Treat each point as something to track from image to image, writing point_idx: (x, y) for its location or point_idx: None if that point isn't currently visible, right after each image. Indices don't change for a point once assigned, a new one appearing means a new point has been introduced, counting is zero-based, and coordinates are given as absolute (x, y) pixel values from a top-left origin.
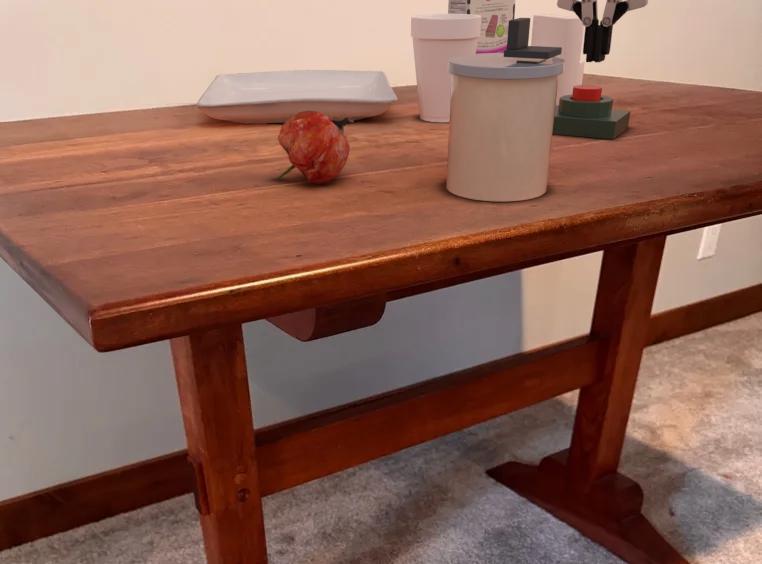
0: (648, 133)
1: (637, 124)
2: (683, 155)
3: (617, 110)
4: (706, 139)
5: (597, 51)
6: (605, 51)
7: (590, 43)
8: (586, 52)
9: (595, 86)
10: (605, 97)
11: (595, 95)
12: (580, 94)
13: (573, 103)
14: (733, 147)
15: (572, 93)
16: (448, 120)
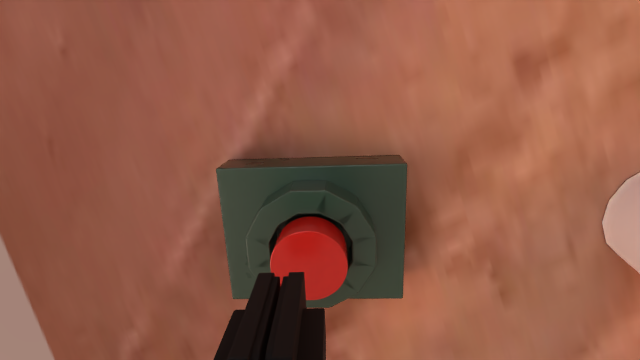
0: (192, 250)
1: None
2: (60, 81)
3: None
4: (85, 243)
5: (260, 290)
6: (239, 310)
7: (287, 307)
8: (311, 309)
9: None
10: None
11: (279, 237)
12: (315, 225)
13: (323, 189)
14: (19, 197)
15: (345, 248)
16: (637, 177)
